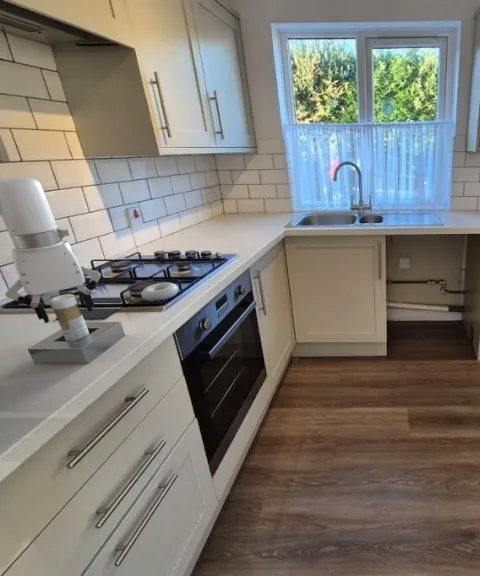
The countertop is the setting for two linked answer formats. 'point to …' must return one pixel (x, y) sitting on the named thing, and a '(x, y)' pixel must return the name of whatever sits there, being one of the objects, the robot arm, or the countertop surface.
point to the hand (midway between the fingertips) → (68, 314)
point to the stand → (77, 345)
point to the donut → (159, 292)
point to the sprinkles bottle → (69, 317)
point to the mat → (101, 312)
